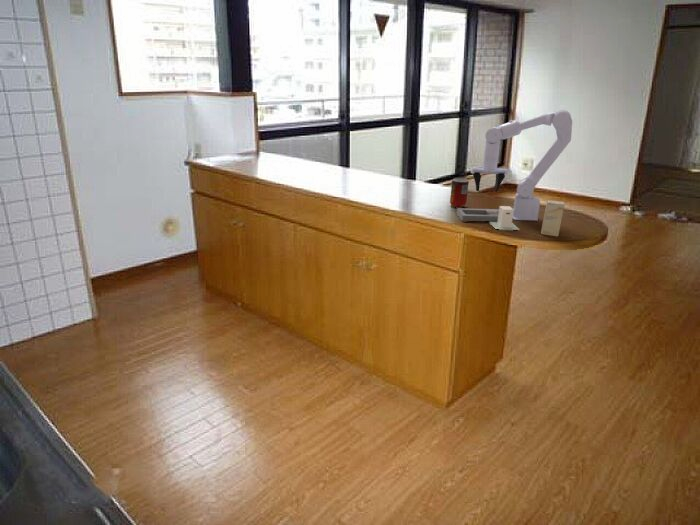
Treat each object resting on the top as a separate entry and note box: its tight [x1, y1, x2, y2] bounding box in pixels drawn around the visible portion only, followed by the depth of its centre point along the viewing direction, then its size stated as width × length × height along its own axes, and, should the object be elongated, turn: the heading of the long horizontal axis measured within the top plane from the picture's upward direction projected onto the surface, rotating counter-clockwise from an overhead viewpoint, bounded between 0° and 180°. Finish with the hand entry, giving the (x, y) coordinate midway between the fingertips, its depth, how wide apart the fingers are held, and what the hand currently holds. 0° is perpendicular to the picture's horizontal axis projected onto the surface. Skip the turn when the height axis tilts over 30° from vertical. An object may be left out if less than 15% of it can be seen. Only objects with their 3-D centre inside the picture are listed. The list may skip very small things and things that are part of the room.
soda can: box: [449, 177, 470, 209], centre depth 222 cm, size 7×7×12 cm
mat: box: [488, 222, 520, 232], centre depth 196 cm, size 9×9×1 cm
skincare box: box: [540, 199, 566, 237], centre depth 187 cm, size 6×4×12 cm
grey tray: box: [456, 207, 499, 222], centre depth 206 cm, size 19×11×3 cm, turn 90°
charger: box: [497, 205, 514, 228], centre depth 195 cm, size 4×5×7 cm
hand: (486, 191), depth 211 cm, fingers open, 7 cm apart
